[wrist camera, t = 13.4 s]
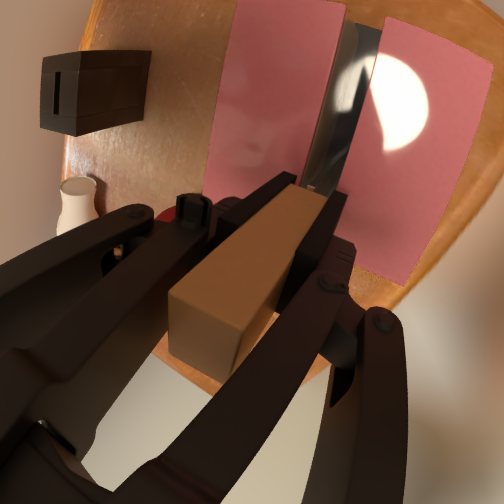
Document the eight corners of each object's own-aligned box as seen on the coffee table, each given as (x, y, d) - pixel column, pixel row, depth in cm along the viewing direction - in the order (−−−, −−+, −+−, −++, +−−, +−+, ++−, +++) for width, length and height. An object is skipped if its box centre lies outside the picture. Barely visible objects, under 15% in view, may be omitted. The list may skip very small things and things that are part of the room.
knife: (329, 148, 21) (166, 284, 6) (353, 157, 21) (245, 325, 6) (319, 182, 23) (167, 357, 8) (342, 191, 23) (226, 391, 8)
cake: (278, 10, 18) (227, -23, 11) (471, 72, 14) (513, 59, 7) (242, 177, 27) (187, 209, 20) (406, 244, 23) (409, 305, 16)
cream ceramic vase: (83, 167, 36) (83, 222, 42) (44, 184, 31) (50, 242, 37) (113, 186, 35) (110, 243, 41) (71, 206, 29) (76, 266, 35)
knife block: (105, 52, 26) (42, 57, 19) (151, 50, 24) (81, 51, 17) (100, 112, 30) (39, 127, 23) (142, 120, 28) (75, 137, 21)
